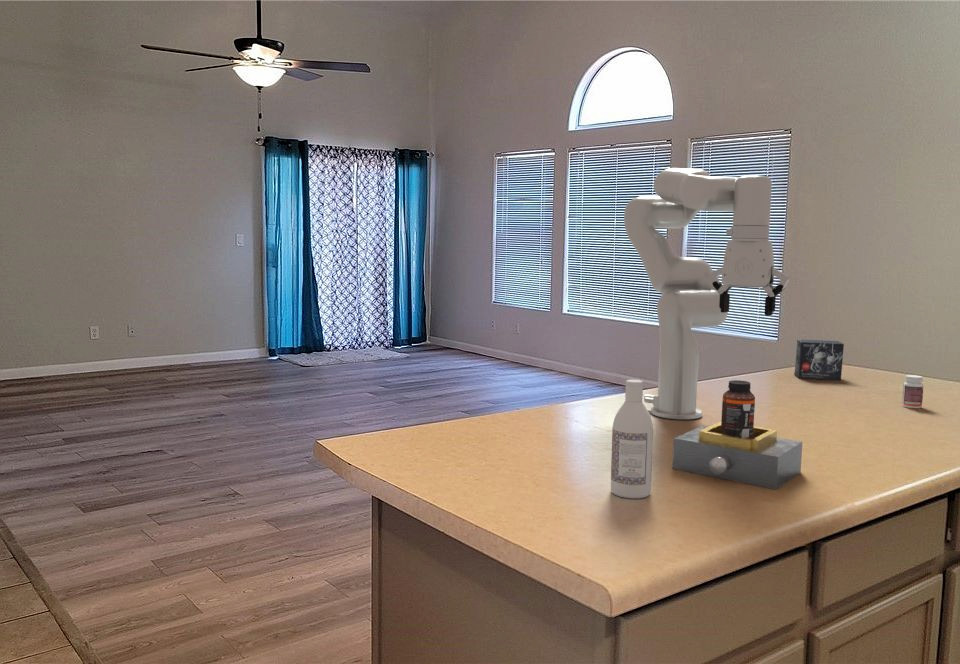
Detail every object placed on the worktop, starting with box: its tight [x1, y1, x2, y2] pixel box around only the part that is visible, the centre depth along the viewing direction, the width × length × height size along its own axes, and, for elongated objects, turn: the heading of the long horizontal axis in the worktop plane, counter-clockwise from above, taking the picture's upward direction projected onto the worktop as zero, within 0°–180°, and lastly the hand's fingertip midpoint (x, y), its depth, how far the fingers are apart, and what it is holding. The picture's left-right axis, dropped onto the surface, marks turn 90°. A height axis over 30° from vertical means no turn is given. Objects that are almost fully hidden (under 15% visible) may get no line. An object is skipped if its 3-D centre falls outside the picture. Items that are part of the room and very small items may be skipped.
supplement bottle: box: [720, 379, 756, 439], centre depth 155 cm, size 6×6×11 cm
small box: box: [793, 338, 845, 381], centre depth 261 cm, size 13×7×12 cm, turn 81°
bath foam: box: [610, 379, 654, 500], centre depth 140 cm, size 7×7×20 cm
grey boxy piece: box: [671, 421, 803, 490], centre depth 155 cm, size 20×17×8 cm
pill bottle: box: [901, 374, 924, 409], centre depth 217 cm, size 5×5×8 cm
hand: (746, 313), depth 176 cm, fingers open, 9 cm apart
